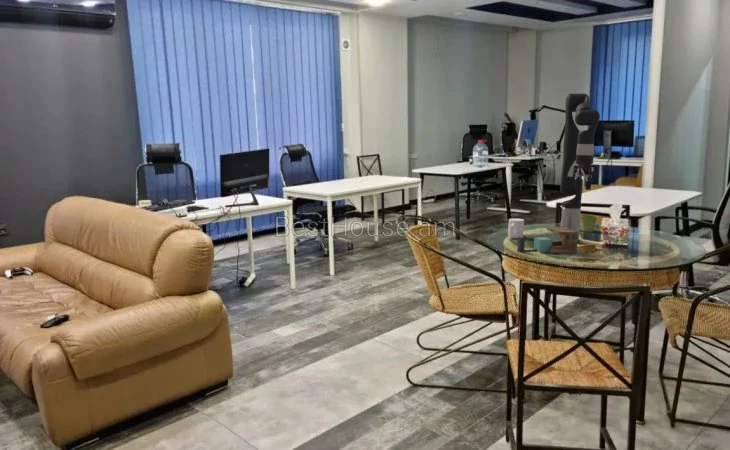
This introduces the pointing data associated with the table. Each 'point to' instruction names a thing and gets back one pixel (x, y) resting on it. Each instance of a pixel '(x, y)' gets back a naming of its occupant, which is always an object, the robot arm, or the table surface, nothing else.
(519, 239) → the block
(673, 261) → the table surface
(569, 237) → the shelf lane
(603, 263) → the table surface
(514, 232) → the mug
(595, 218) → the plant pot
